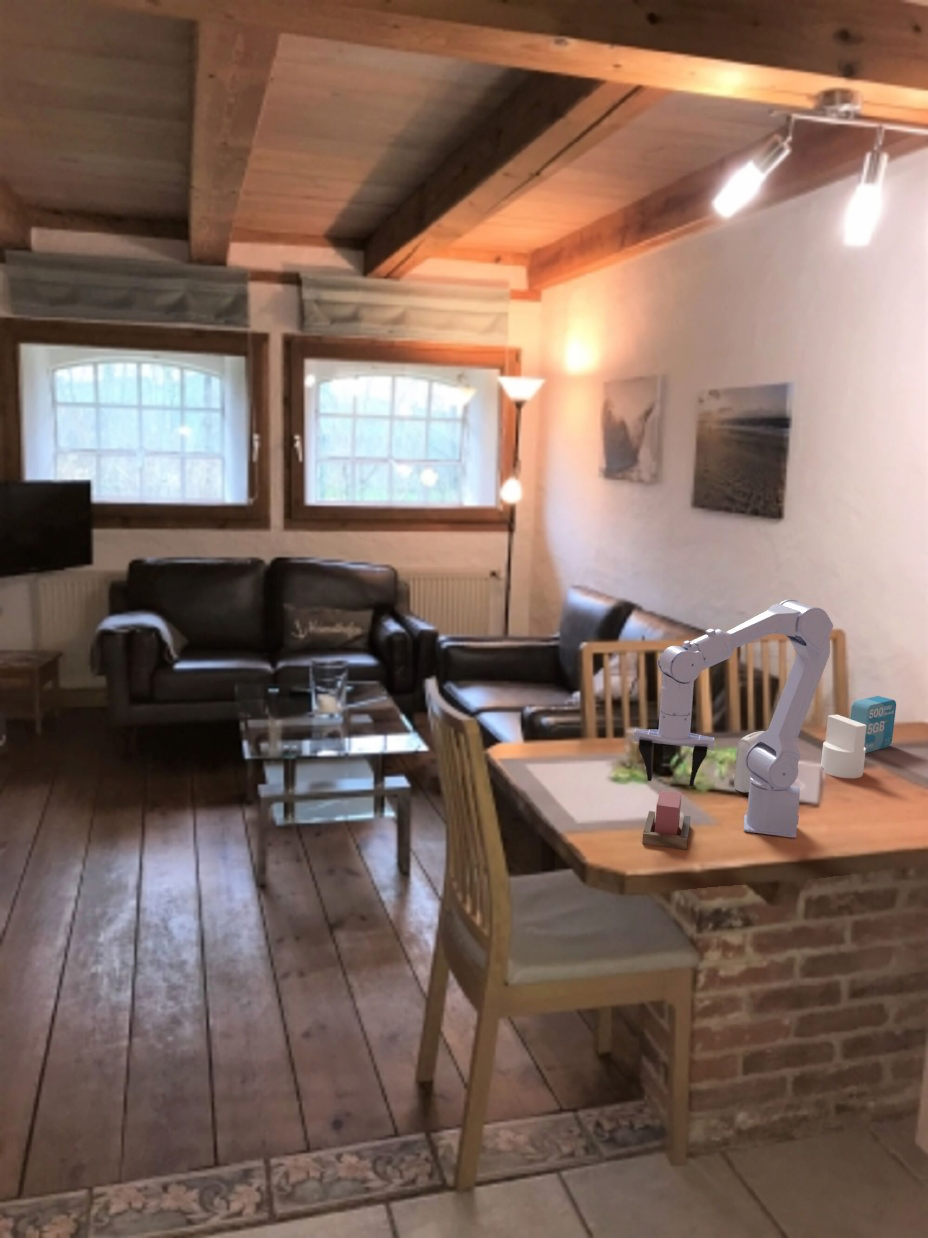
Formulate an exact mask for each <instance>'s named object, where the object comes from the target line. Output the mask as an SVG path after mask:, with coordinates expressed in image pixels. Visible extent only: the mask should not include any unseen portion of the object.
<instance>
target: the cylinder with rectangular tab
mask: <svg viewBox="0 0 928 1238" xmlns="http://www.w3.org/2000/svg"><path fill="white" fill-rule="evenodd" d="M866 726H867V725H865V724H862V723H859V722H857V721H854V720H851V719H850V718H849V717H846V716H842V715H840V714H831V715H828V716H827V723H826V730H825V731H826V733H825V741H823V743H822V752H821V753H822V754H821V762H820V767H821V766H822V767H823V768H824V771H825V773H824V774H826V775H829V776H832V777H834V778H835V777H837V778H840V779H841V778H842V779H857V778H862V776H863V775H864V766H865V757H866V753H865V751H866V748H865V747H864V744H865V735H866Z"/></svg>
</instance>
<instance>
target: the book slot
mask: <svg viewBox="0 0 928 1238" xmlns="http://www.w3.org/2000/svg"><path fill="white" fill-rule="evenodd" d="M655 820H656V811H653V810H649V811H648V814H647V817H646V821H645V824H644V827H643V832H642V839H641V840H642V843H641V844H643V845H644V844H645V845H648V846H658V847H664V848H672V849H678V850H684V851H685V850H687V845H688V841H689V840H688V838H689V834H690V827H691V815H684V816H683V820H682V824H681V832H680V835H670V834H663V833H655V831H654V832H653V829H654V827H655Z"/></svg>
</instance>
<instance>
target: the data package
mask: <svg viewBox="0 0 928 1238" xmlns="http://www.w3.org/2000/svg"><path fill="white" fill-rule="evenodd" d="M896 709H897V702H896V700H895V699H891V698H889V697H888V698H887V697H883V696H880V695H876V696H875V695H874V696H872V697H867V698H862V699H857V700H854V701H853V702H852V705H851V708H850V716H849V719H851V720H854V721H857V722H859V723H862V724H865V725H867V726H866V735H865V744H864V747H865V748H866V751H865V754H868V753H871V752H874V751H878V750H882V749H885V748H888V747H890V746H891V745H892V742H893V735H894V727H895V720H896Z"/></svg>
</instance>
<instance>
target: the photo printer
mask: <svg viewBox="0 0 928 1238" xmlns="http://www.w3.org/2000/svg"><path fill="white" fill-rule="evenodd" d="M765 731H766V730H765ZM765 731H764V730H761V731H755V732H752V733H749V734H747V735H745V736H743V737H742V738H740V740H738V742H737V747H736V755H735V756H736V757H735V758H736V759H735V768H734V769H735V770H734V778H733V779H734V780H733V781H734V782H733V788H734V789H735V790H736V791H738V792H739V793H743V794H744V793H749V787H750V771H749V770H748V769H747V767H746V764H745V756H746V753H747V751H748V750H749V749H750V748H751V747H752V746H753V744H754V743H755V741H756V739H757V737H758V735H760V734H762V733H763V732H765Z"/></svg>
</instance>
